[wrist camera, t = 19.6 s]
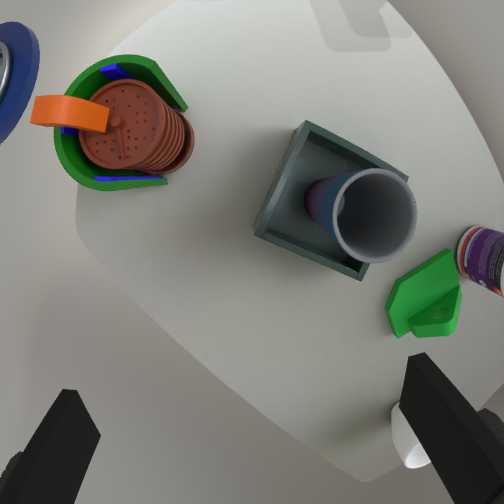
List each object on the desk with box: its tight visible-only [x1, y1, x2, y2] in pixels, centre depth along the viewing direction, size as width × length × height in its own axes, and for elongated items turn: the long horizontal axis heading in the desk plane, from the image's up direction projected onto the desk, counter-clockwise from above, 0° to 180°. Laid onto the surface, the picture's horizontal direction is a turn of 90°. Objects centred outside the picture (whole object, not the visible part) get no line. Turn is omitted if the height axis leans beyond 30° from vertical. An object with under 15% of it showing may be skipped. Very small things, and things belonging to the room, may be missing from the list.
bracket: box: [385, 249, 462, 338], centre depth 36 cm, size 12×8×7 cm, turn 118°
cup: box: [304, 168, 417, 263], centre depth 28 cm, size 7×7×15 cm
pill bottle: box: [457, 226, 504, 297], centre depth 31 cm, size 8×8×14 cm
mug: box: [391, 401, 431, 468], centre depth 38 cm, size 12×8×11 cm
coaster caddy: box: [30, 55, 194, 191], centre depth 24 cm, size 10×9×20 cm
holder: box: [253, 120, 409, 281], centre depth 33 cm, size 13×13×6 cm
